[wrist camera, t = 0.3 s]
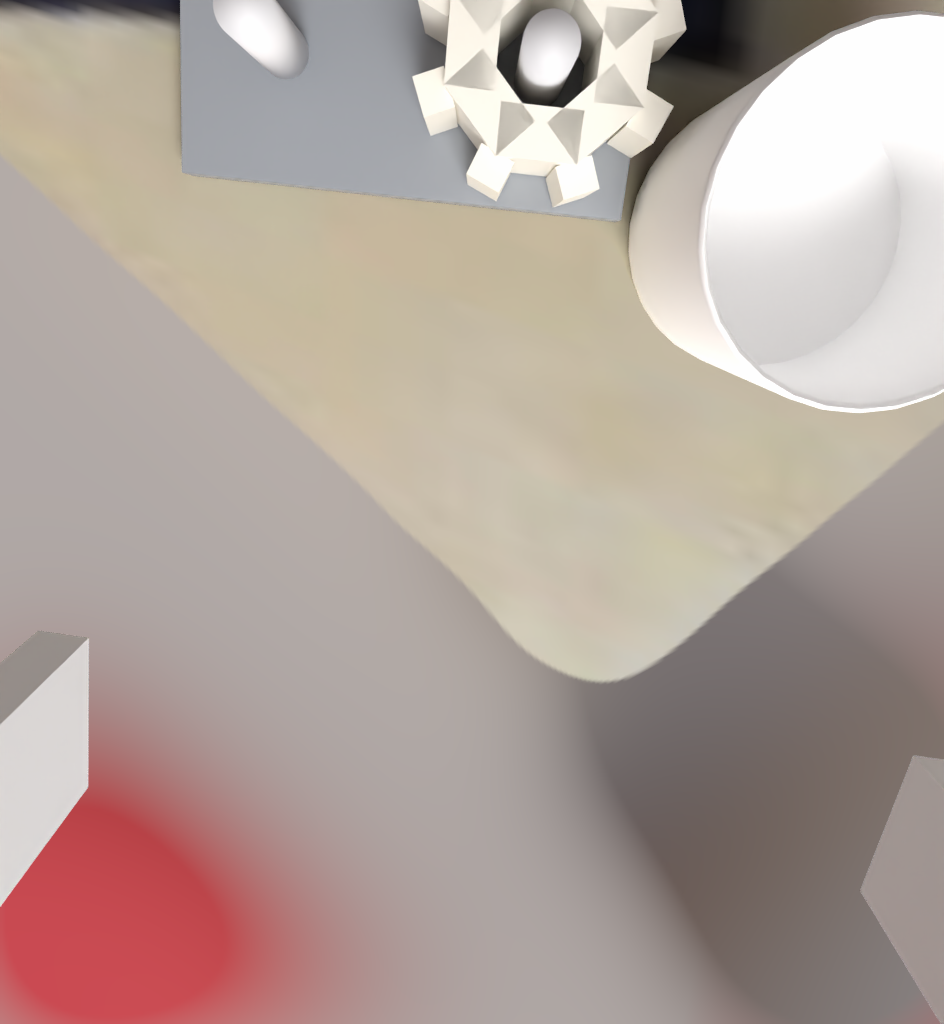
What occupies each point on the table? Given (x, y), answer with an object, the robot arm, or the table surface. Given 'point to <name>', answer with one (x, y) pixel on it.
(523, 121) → the gear
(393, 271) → the table surface
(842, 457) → the table surface
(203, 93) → the gear board
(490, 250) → the table surface
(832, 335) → the cup
